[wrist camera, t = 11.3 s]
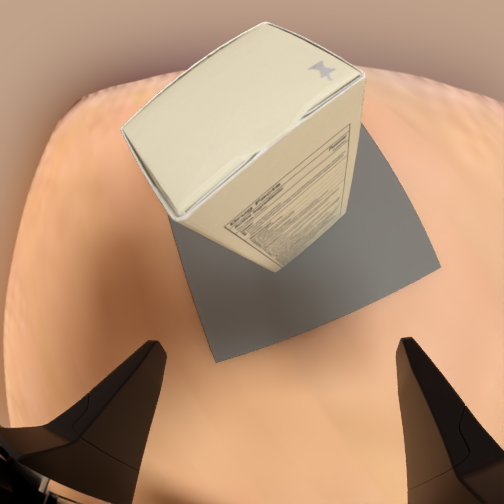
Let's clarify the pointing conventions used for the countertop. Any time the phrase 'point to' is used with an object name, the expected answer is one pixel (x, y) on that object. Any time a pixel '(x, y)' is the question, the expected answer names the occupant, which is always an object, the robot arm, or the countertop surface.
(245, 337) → the charcoal mat
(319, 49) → the skincare box
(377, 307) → the countertop surface
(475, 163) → the countertop surface
